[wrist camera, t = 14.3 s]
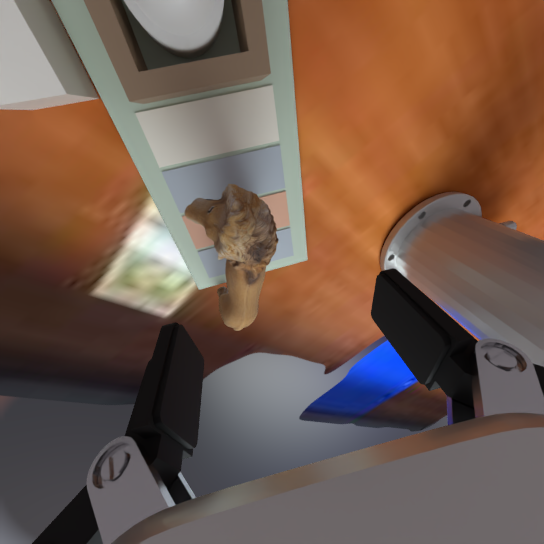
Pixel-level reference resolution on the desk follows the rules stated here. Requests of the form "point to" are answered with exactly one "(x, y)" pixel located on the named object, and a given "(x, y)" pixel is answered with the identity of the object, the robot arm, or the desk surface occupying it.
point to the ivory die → (38, 59)
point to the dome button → (180, 23)
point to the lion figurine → (238, 248)
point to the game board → (202, 117)
